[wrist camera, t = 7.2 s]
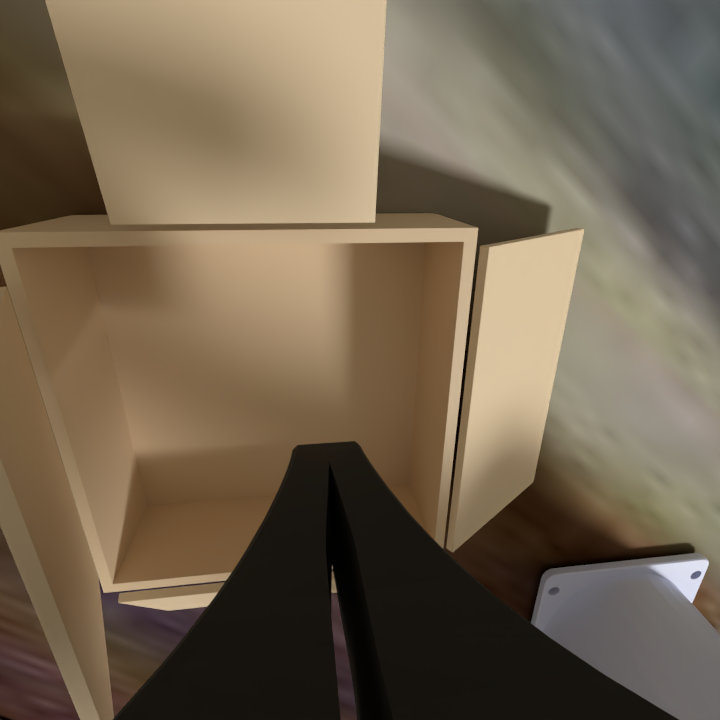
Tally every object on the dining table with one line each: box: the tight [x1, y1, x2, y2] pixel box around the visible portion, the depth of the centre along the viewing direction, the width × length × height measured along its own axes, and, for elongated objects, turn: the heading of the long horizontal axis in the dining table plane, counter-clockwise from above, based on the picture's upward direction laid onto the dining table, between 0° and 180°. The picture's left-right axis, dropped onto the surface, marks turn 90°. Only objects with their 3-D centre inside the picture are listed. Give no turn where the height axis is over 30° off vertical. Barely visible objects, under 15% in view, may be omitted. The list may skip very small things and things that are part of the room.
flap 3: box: [118, 571, 337, 611], centre depth 15 cm, size 1×9×5 cm
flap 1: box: [0, 286, 114, 720], centre depth 8 cm, size 8×1×5 cm, turn 0°
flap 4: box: [446, 228, 584, 553], centre depth 13 cm, size 9×1×5 cm
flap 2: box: [45, 0, 387, 225], centre depth 8 cm, size 1×5×5 cm
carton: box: [0, 213, 478, 593], centre depth 13 cm, size 10×10×4 cm
